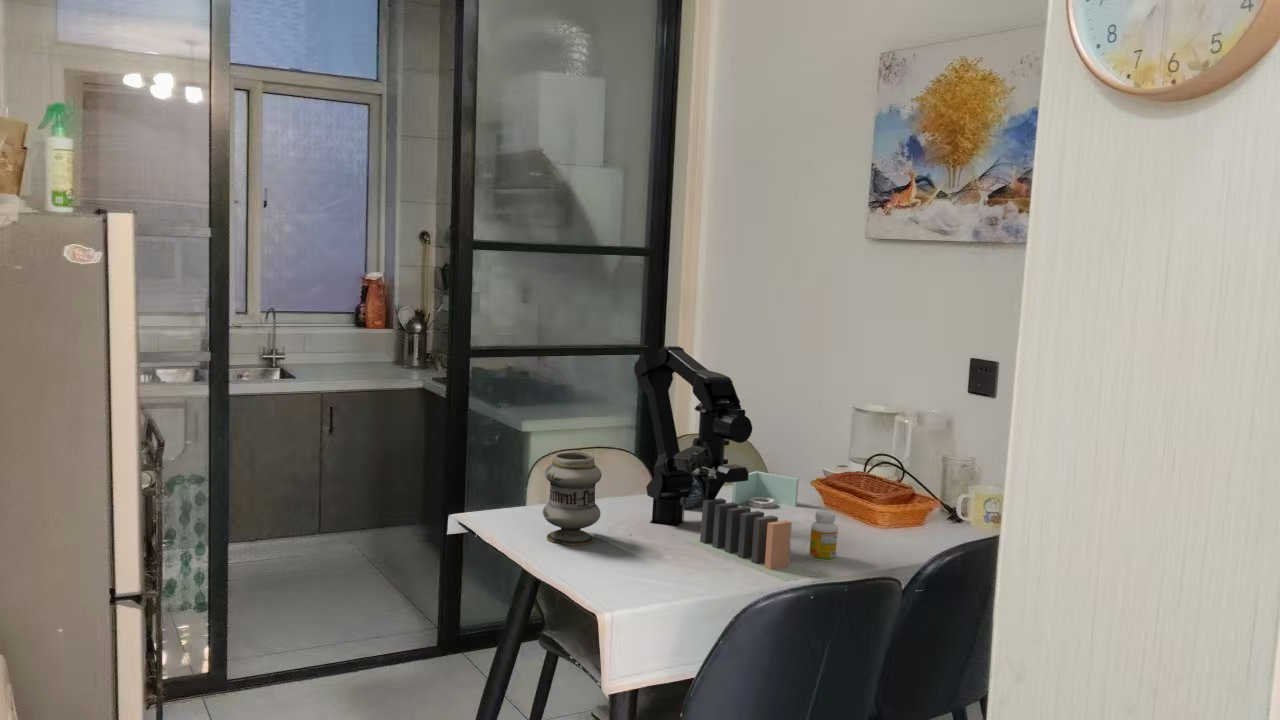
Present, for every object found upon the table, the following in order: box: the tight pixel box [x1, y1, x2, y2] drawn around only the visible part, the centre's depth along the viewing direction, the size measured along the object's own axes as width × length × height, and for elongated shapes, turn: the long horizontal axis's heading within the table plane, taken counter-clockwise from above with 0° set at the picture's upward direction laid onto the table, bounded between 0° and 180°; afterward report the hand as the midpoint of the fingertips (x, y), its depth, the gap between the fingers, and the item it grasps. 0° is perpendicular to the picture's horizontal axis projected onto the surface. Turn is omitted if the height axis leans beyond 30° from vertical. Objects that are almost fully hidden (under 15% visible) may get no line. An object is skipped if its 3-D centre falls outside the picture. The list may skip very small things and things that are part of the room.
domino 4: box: [738, 510, 765, 559], centre depth 214 cm, size 2×5×9 cm, turn 126°
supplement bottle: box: [808, 510, 838, 562], centre depth 217 cm, size 5×5×10 cm
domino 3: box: [725, 506, 752, 554], centre depth 217 cm, size 2×5×9 cm, turn 126°
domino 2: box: [712, 501, 739, 549], centre depth 221 cm, size 2×5×9 cm, turn 127°
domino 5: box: [751, 515, 779, 564], centre depth 211 cm, size 2×5×9 cm, turn 126°
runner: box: [685, 539, 822, 582], centre depth 214 cm, size 30×10×1 cm, turn 36°
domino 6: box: [765, 519, 793, 570], centre depth 208 cm, size 2×5×9 cm, turn 126°
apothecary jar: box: [542, 451, 602, 546], centre depth 221 cm, size 12×12×18 cm
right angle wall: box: [731, 470, 800, 509], centre depth 262 cm, size 12×12×8 cm
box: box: [682, 477, 703, 511], centre depth 257 cm, size 8×6×11 cm
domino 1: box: [699, 497, 727, 544], centre depth 224 cm, size 2×5×9 cm, turn 126°
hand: (707, 506), depth 225 cm, fingers closed
